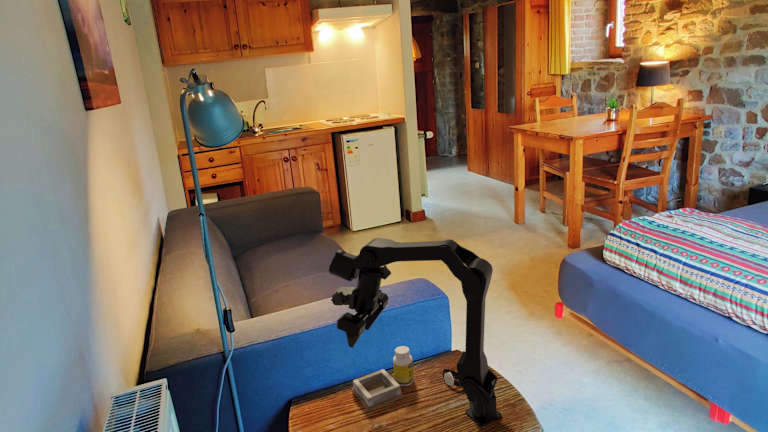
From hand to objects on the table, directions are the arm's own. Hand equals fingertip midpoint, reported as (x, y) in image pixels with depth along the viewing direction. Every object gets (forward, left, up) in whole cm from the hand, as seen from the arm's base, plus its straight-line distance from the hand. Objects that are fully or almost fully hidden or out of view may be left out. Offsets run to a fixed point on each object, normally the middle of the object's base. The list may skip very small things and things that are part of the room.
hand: (358, 337), depth 129 cm
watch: (-10, -22, -16) cm, 29 cm away
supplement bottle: (-2, -11, -16) cm, 20 cm away
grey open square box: (-3, -2, -16) cm, 17 cm away
